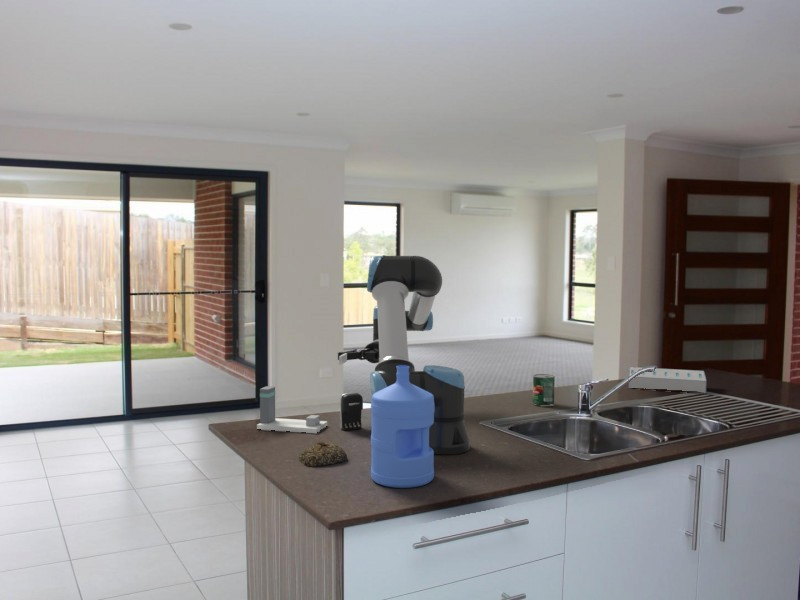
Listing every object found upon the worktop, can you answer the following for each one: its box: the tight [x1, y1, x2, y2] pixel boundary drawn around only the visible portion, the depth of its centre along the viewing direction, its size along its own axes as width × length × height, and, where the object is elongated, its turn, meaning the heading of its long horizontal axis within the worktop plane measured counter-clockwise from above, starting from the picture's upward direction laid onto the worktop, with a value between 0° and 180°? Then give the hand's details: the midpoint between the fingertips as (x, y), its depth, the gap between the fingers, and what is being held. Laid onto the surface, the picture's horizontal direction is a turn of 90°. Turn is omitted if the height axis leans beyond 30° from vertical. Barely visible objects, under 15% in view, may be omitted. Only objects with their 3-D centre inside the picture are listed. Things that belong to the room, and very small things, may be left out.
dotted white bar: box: [627, 366, 707, 393], centre depth 292 cm, size 30×14×8 cm, turn 70°
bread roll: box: [298, 441, 348, 467], centre depth 187 cm, size 13×12×5 cm
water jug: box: [370, 365, 435, 489], centre depth 170 cm, size 16×16×28 cm
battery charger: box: [339, 392, 364, 431], centre depth 219 cm, size 7×4×11 cm, turn 116°
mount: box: [256, 385, 328, 434], centre depth 221 cm, size 10×20×12 cm, turn 76°
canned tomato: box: [532, 373, 556, 405], centre depth 257 cm, size 8×8×11 cm
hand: (359, 361), depth 227 cm, fingers open, 13 cm apart
